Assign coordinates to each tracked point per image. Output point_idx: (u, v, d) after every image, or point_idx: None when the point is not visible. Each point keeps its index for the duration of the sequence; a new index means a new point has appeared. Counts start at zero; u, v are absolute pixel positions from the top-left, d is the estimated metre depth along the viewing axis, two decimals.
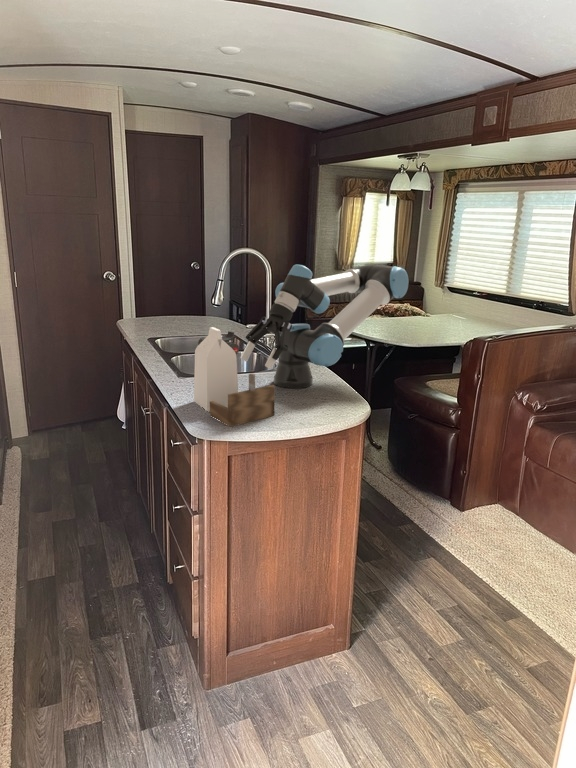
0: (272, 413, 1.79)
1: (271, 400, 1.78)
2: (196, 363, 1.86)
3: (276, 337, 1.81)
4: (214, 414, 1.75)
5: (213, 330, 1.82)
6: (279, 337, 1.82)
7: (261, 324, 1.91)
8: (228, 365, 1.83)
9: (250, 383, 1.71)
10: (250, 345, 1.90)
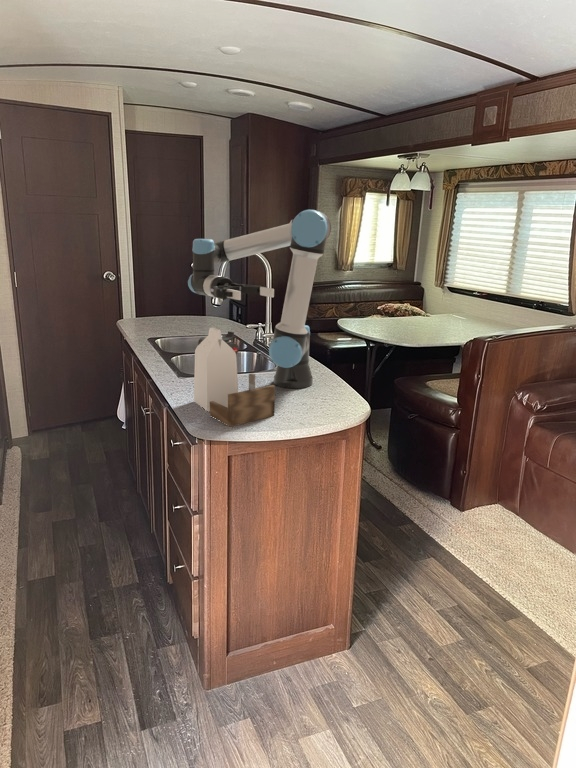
0: (272, 413, 1.79)
1: (271, 400, 1.78)
2: (196, 363, 1.86)
3: None
4: (214, 414, 1.75)
5: (213, 330, 1.82)
6: None
7: None
8: (228, 365, 1.83)
9: (250, 383, 1.71)
10: (261, 292, 1.84)
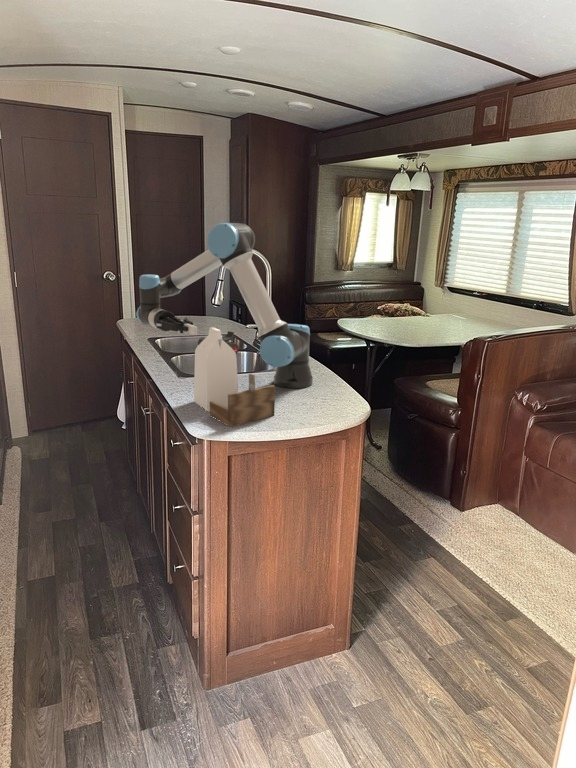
0: (272, 413, 1.79)
1: (271, 400, 1.78)
2: (196, 363, 1.87)
3: None
4: (214, 414, 1.75)
5: (213, 330, 1.82)
6: None
7: None
8: (228, 365, 1.83)
9: (250, 383, 1.71)
10: None
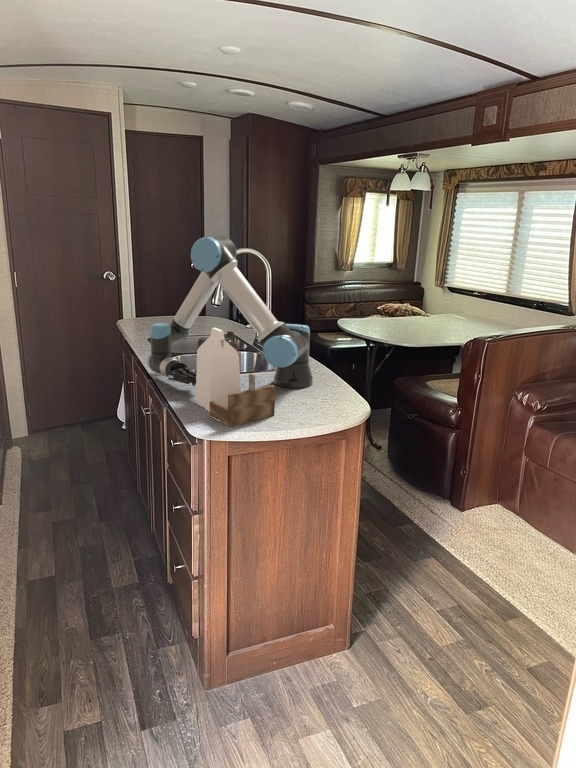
0: (272, 413, 1.79)
1: (271, 400, 1.78)
2: (198, 364, 1.85)
3: None
4: (214, 414, 1.75)
5: (215, 331, 1.81)
6: None
7: None
8: (231, 365, 1.82)
9: (250, 383, 1.71)
10: None
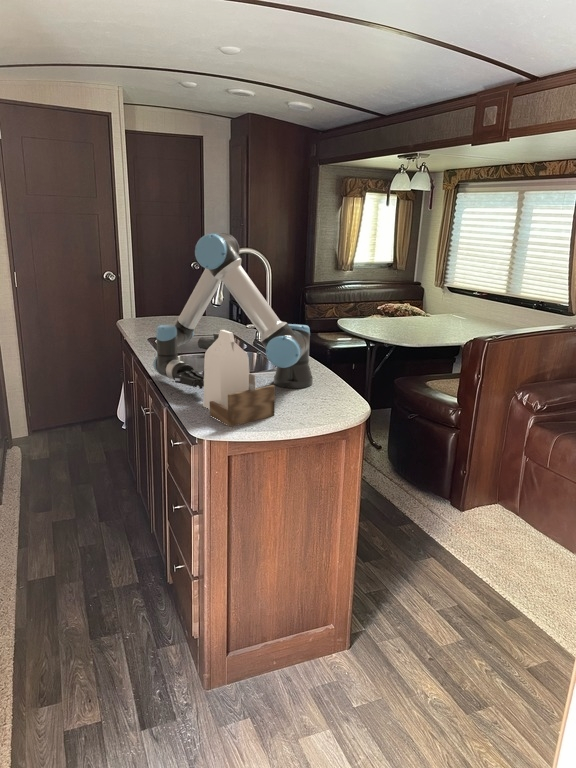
0: (272, 413, 1.79)
1: (271, 400, 1.78)
2: (206, 367, 1.82)
3: None
4: (214, 414, 1.75)
5: (224, 333, 1.78)
6: None
7: None
8: (241, 368, 1.79)
9: (250, 383, 1.71)
10: None
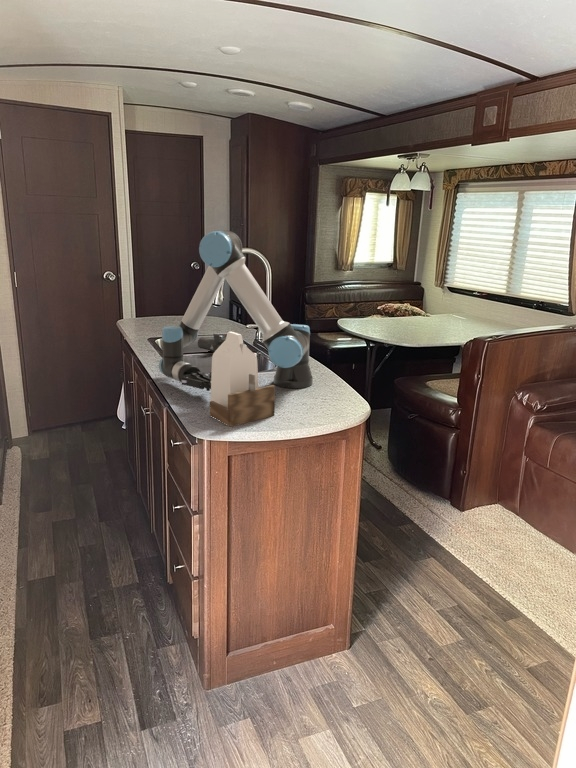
0: (272, 413, 1.79)
1: (271, 400, 1.78)
2: (214, 369, 1.79)
3: None
4: (214, 414, 1.75)
5: (233, 334, 1.76)
6: (200, 383, 1.92)
7: None
8: (250, 370, 1.77)
9: (250, 383, 1.71)
10: None
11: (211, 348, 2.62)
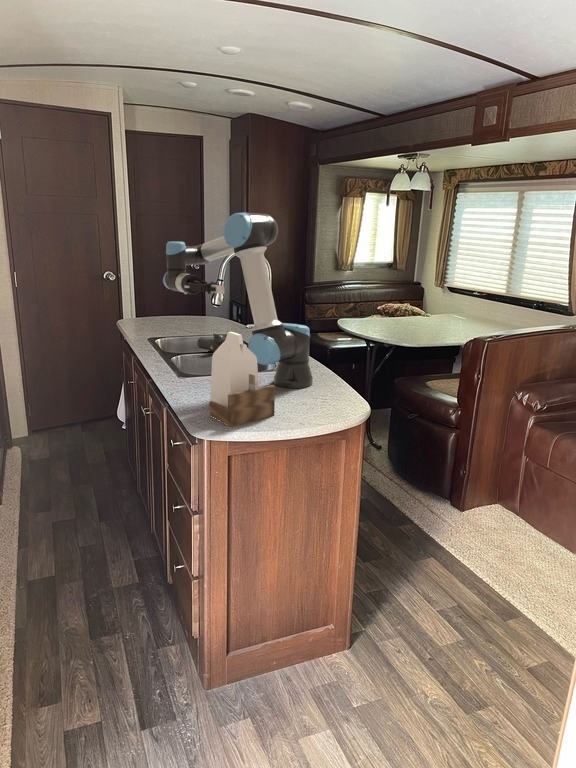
0: (272, 413, 1.79)
1: (271, 400, 1.78)
2: (214, 369, 1.79)
3: None
4: (214, 414, 1.75)
5: (232, 335, 1.76)
6: None
7: None
8: (250, 370, 1.77)
9: (250, 383, 1.71)
10: None
11: (211, 348, 2.62)
